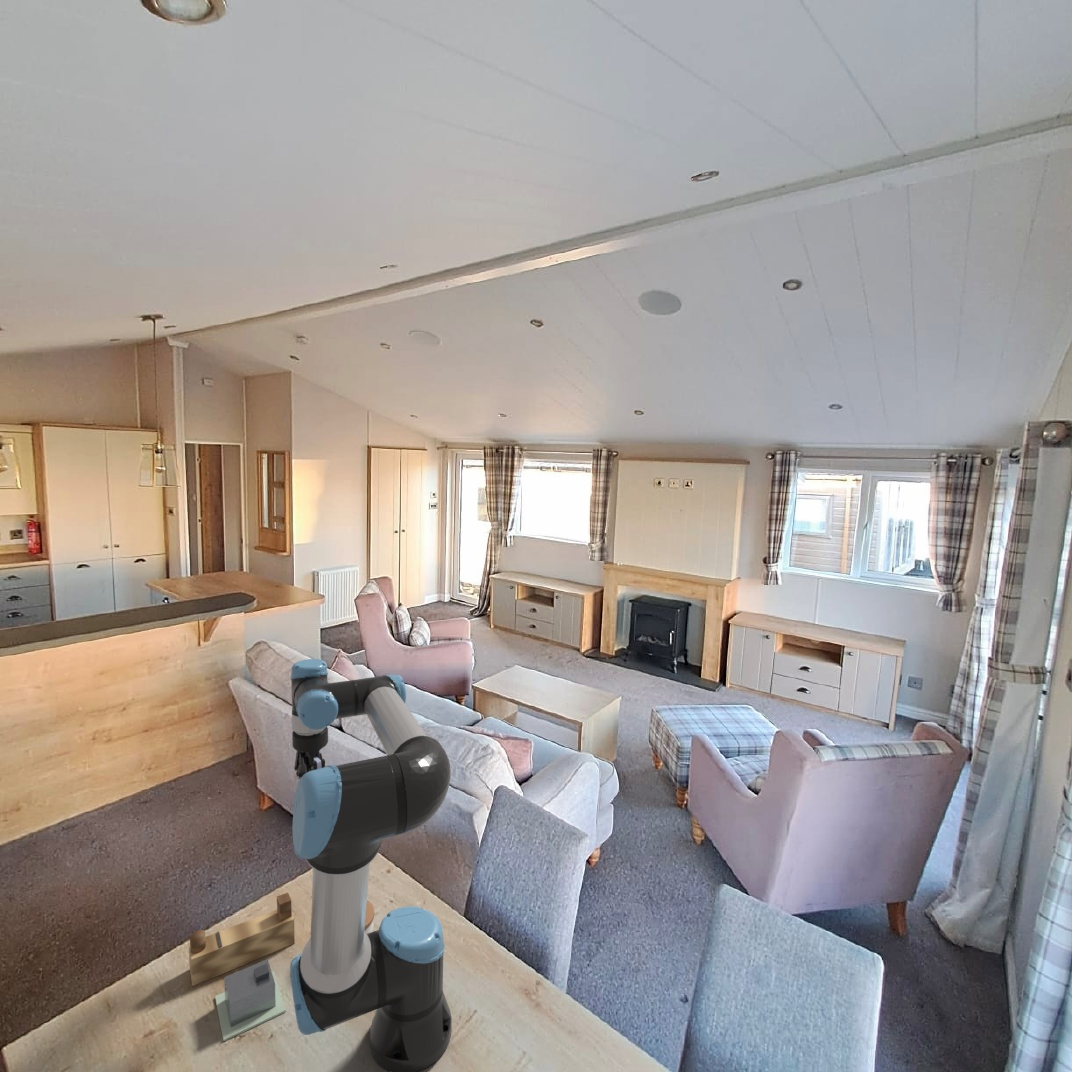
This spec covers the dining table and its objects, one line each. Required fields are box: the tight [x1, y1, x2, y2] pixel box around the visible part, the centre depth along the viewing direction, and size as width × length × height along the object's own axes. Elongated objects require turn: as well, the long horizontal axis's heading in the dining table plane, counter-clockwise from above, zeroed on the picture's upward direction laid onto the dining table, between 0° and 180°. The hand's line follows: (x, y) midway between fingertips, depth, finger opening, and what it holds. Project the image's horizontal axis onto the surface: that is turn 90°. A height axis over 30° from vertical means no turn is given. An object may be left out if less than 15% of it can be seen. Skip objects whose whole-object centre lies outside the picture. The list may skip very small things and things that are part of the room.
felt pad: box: [214, 970, 287, 1042], centre depth 118 cm, size 11×11×1 cm
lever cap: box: [223, 958, 276, 1027], centre depth 118 cm, size 7×8×6 cm
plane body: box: [188, 892, 296, 987], centre depth 129 cm, size 20×5×10 cm, turn 125°
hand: (311, 817), depth 136 cm, fingers open, 13 cm apart
